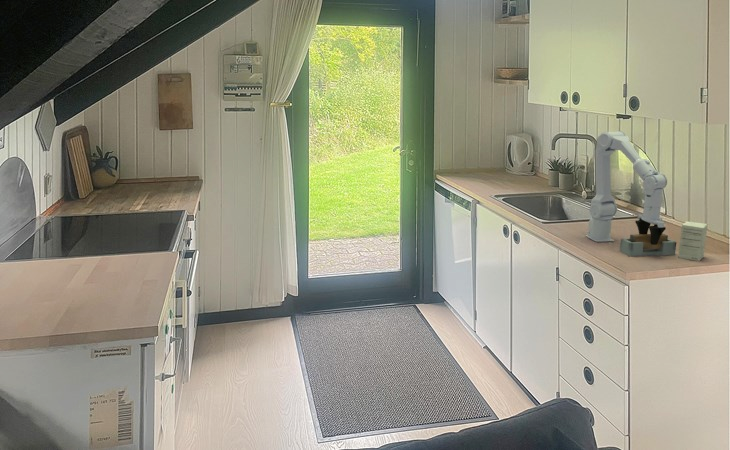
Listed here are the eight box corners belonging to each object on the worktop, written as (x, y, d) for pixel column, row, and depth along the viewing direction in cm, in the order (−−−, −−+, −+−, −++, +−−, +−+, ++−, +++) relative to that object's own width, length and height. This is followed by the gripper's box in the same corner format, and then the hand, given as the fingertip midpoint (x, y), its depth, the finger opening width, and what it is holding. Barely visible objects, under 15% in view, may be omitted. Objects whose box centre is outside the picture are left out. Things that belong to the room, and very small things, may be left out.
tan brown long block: (629, 247, 232) (630, 234, 231) (661, 246, 233) (663, 233, 232) (633, 249, 229) (634, 236, 228) (666, 248, 230) (667, 235, 229)
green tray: (619, 251, 234) (621, 238, 233) (664, 249, 236) (665, 237, 235) (629, 256, 227) (630, 243, 226) (674, 254, 229) (676, 242, 228)
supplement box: (682, 253, 231) (686, 220, 228) (704, 256, 227) (708, 223, 224) (677, 257, 226) (681, 224, 223) (699, 261, 221) (704, 227, 218)
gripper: (673, 210, 221) (669, 246, 224) (651, 202, 235) (647, 236, 238) (655, 210, 220) (651, 247, 223) (634, 202, 234) (630, 237, 237)
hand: (648, 241), depth 231 cm, fingers open, 7 cm apart
